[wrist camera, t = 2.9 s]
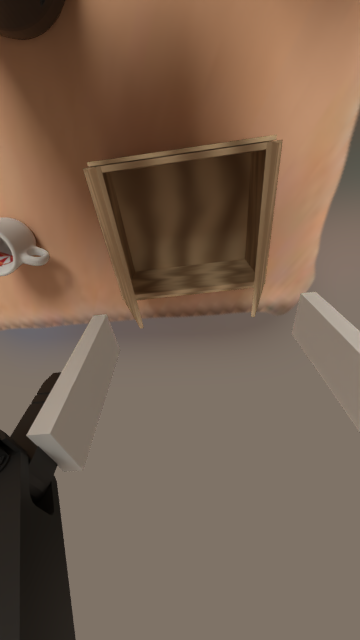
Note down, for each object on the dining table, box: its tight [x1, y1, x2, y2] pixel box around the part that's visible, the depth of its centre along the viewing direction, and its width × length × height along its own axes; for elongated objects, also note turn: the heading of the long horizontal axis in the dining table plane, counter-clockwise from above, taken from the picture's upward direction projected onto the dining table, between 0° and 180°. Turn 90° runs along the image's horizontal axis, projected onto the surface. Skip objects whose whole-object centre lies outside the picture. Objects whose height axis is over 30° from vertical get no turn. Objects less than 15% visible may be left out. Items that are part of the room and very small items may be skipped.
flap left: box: [85, 166, 143, 328], centre depth 25 cm, size 1×16×9 cm, turn 6°
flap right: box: [251, 141, 281, 317], centre depth 24 cm, size 1×16×9 cm, turn 7°
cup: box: [0, 218, 49, 276], centre depth 35 cm, size 11×8×8 cm
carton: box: [83, 135, 283, 300], centre depth 33 cm, size 22×18×10 cm
